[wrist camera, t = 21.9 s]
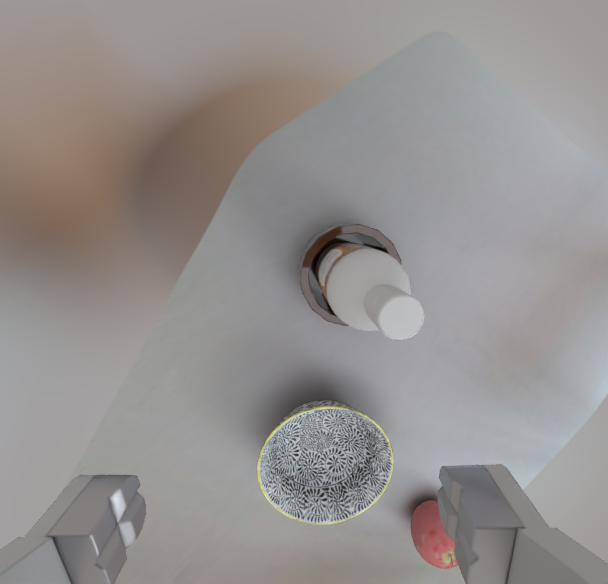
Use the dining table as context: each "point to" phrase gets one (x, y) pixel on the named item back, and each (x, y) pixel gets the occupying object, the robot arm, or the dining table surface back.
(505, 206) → the dining table surface
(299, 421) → the bowl
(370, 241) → the cup
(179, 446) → the dining table surface
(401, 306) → the bath foam
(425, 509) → the apple
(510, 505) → the robot arm
